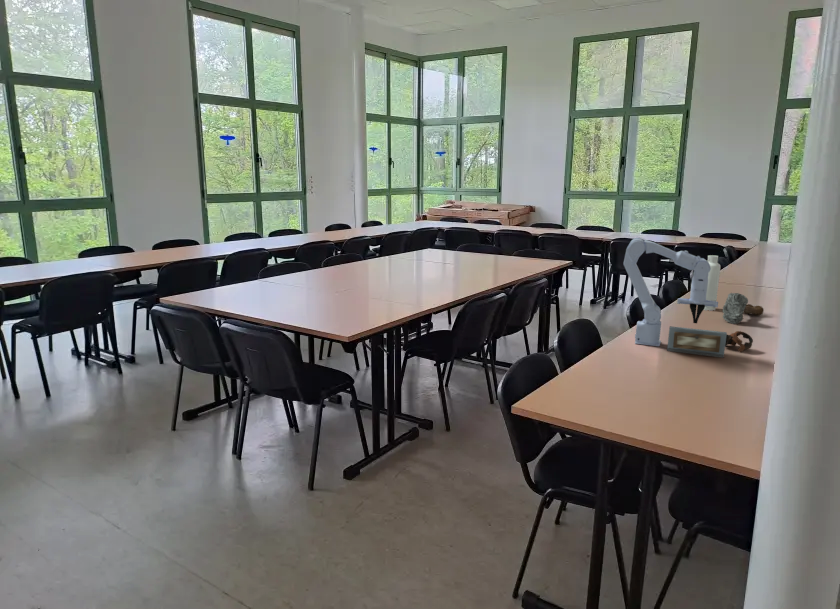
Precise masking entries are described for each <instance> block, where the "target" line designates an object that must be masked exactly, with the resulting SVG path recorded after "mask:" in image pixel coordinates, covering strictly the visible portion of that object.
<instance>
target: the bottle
mask: <svg viewBox="0 0 840 609" xmlns="http://www.w3.org/2000/svg"><path fill="white" fill-rule="evenodd" d="M707 261H708V263H709V264H710V268H711V270H710V272H709V273H708V274H709V276H708V286H707V294H706V300H709V301H716V302H717V298H718V291H719V290H718V289H719V283H720V274H721V267H722V266H721V264H720V263H719V262H718V261H719V255H713V254H712V255H711V254H710V255H707ZM716 309H717V307H712V306H705V308H704V310H703V311H707V310H709V311H710V312H711V311H713V310H714V311H716ZM709 311H708V312H709ZM714 311H713V312H714Z"/></svg>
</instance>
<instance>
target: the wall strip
mask: <svg viewBox="0 0 840 609" xmlns="http://www.w3.org/2000/svg"><path fill="white" fill-rule="evenodd" d="M674 332H684V333H694V334H704V335H715V336H721V339H720V348H719V352H711V351H702V350H692V349H683V348H674V347H673V342H674ZM726 335H728V333H727V331H718V330H708V329H699V328H690V327H682V326H680V327H679V326H669V330H668V338H667V347H666V351H667V352H673V353H683V354H689V355H690V354H692V355H699V356H706V357H707V356H708V357H715V358H725V351H726V350H725V349H726V347H725V343H726Z"/></svg>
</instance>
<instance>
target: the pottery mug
mask: <svg viewBox="0 0 840 609" xmlns="http://www.w3.org/2000/svg"><path fill="white" fill-rule="evenodd" d="M741 335H742V338H744V339H748V342H747V341H746V342H745V341H744V344H743V340H742V339H740V338H739V337H740V336H741ZM753 342H754V339H753V337H752V336H751V335H749V333H747V332H745V331H741V330H740V331H739V330H738V331H735V332H731V333H730V334H727V335H726V343H725V348H727V346H728V345H731V346H734V347H736V345H738V346H739V348H737V351H738V352H739V353H742V352H744V351H746V350H749V349H751V348H752V346H753Z"/></svg>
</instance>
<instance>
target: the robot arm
mask: <svg viewBox="0 0 840 609" xmlns="http://www.w3.org/2000/svg"><path fill="white" fill-rule="evenodd" d="M644 253H645V254H652V253H653V254H654V253H655V254H658V255H660V256H663V257H665V258H667V259H671V260H673V262H674V264H675V265H677V266H679V267H681V268H684V269H687V270H689V271H693V275H692V278H691V284H690V285H691V286H690V287H691V288H690V295H689V296H690V297H689V298H680V297H679V298H677V302H676V304H678V305H689V310H690V311H691V316H692V323H693V324H698V322H699V318H700V316H701V314H702V313H703V311H705V310H704V308H705V306H712V307H716V308H718V307H719V301H717V300H716V301H709V300H706V294H707V286H708V276H709V274H708V273H709V272H710V270H711V268H710V264H709V263H708V261H707V260H708V259H707V260H706V259H705V258H704V257H701V256H700V255H697V256H696V255H694V254H692V253H689V251H688V250H680V251H676V250H672V249H671V248H668V247H665V246H663V245H661V244H660V243H659V244H658V243H657V242H654V241H650V240H648V239H643V238H642V237H641V238H640V237H634V238H633V239H631V241H630V242H629V244H628V245H627V247H626V249H625V254H624V259H623V267H624V269H625V271H626V273H627V275H628V277H629V280H630V282H631V284H632V286H633V288H634V290H635V292H636V295H637V297H638V299H639V302H640V304H641V307H642V309H643V313H644V314H643V315H644V316H643V317H644V318H643V319H642V320H638V321H637V322H636V329H635V334H634V339H635V341H634V344H638V345H645V346H652V347H661V343H662V342H661V341H662V340H660V339H661V328H662V321H661V319H662V314H661V313H662V310H661V308H660V306H658V305H657V303H656V302H655V300H654V299H653V297H652V295H651V293H650V291H649V288H648V286H647V284H646V282H645V279H644V278H643V276H642V273H641V270H640V269H639V266H638V265H637V263H638V260H639V258H640V257H641V256H642V255H643V254H644Z"/></svg>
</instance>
